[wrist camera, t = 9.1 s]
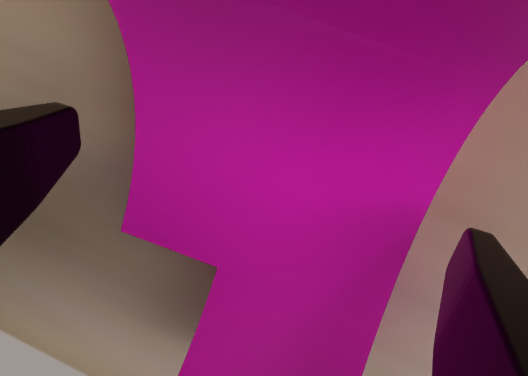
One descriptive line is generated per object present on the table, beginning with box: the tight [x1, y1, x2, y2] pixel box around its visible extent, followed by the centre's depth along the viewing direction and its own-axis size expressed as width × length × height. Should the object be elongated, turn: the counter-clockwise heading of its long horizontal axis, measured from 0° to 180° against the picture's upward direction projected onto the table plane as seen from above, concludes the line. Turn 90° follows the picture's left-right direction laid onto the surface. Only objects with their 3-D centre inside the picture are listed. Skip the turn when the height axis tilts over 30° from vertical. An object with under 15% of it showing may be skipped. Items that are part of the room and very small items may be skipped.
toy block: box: [109, 0, 528, 376], centre depth 9 cm, size 15×6×8 cm, turn 170°
